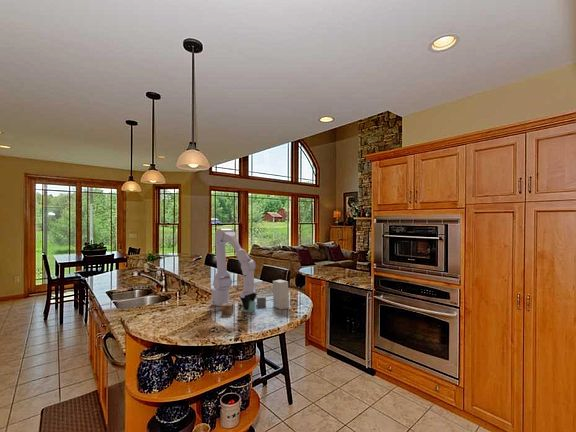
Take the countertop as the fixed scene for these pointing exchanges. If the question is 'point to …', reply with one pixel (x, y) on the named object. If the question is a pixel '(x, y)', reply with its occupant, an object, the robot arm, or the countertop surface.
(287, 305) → the skincare box
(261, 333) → the countertop surface
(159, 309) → the countertop surface
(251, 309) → the teal cube
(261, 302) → the charcoal cube
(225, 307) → the walnut cube
